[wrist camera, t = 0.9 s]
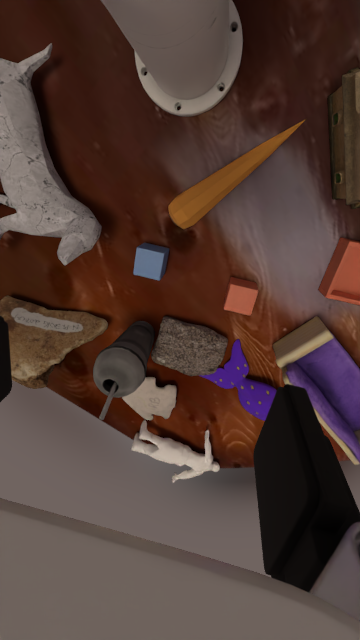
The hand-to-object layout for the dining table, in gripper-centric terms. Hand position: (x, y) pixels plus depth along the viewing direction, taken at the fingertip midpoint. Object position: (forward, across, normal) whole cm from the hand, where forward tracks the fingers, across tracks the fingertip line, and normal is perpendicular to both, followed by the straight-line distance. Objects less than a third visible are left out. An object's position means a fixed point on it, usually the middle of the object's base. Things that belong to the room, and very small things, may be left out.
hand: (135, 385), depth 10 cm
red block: (+37, -7, +7) cm, 38 cm away
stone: (+38, -1, +18) cm, 41 cm away
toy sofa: (+37, -24, +17) cm, 48 cm away
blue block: (+37, +7, +4) cm, 38 cm away
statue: (+30, +34, -5) cm, 45 cm away
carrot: (+38, -2, -8) cm, 39 cm away
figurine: (+34, +5, +39) cm, 52 cm away
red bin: (+37, -23, 0) cm, 43 cm away
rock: (+39, +24, +18) cm, 49 cm away
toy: (+37, -11, +23) cm, 45 cm away
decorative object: (+37, -1, +31) cm, 48 cm away
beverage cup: (+37, +8, +18) cm, 42 cm away
